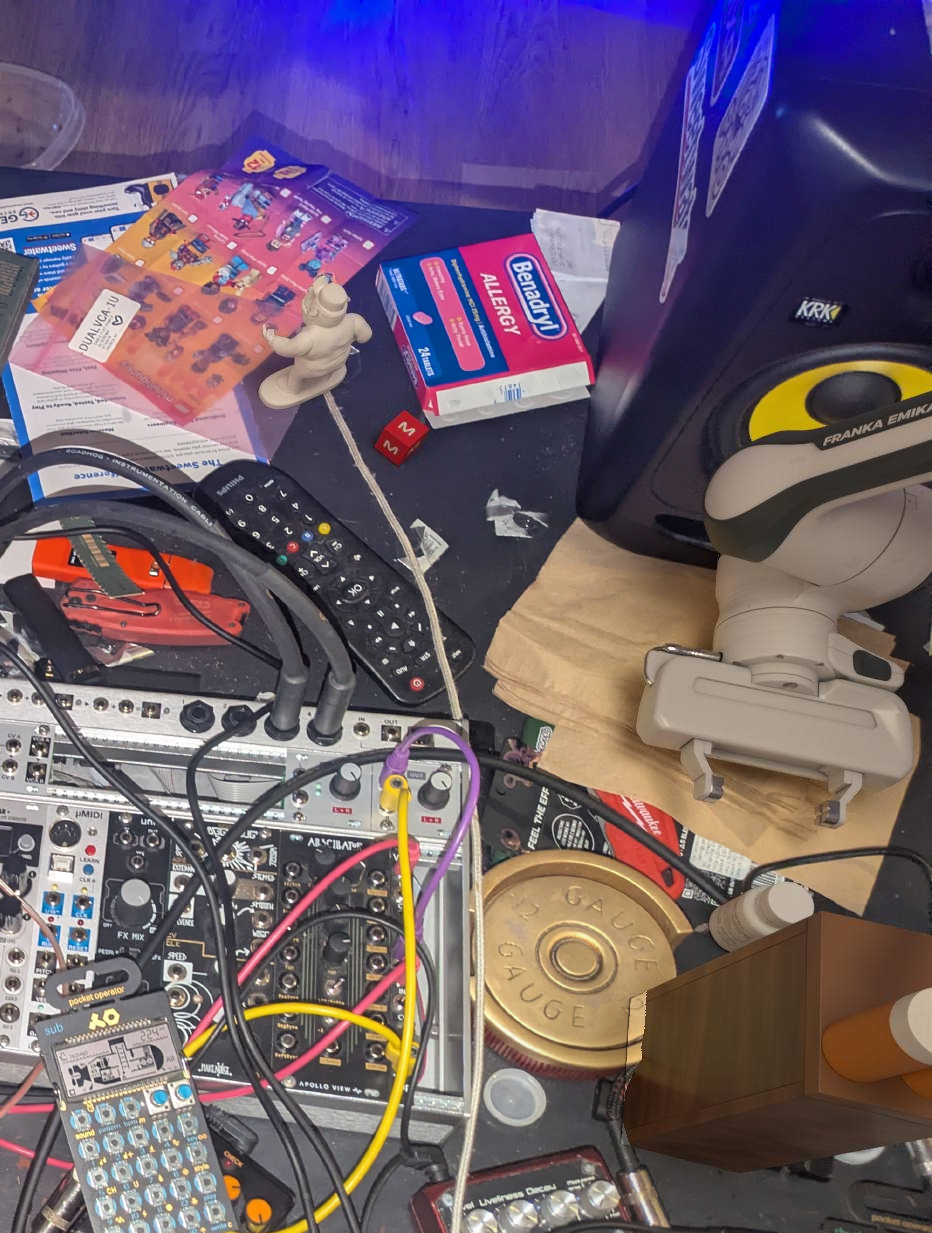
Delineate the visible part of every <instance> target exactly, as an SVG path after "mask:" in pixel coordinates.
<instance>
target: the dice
mask: <svg viewBox="0 0 932 1233" xmlns="http://www.w3.org/2000/svg"><path fill="white" fill-rule="evenodd" d="M429 431H430V428H429V427H428V426H427V425H425V424H424V423H422V422H421V421H420V420H419V419H417V417H415V416H414V415H412V414H411V413H409V412H408V411H406V410H405V409H404V410H403V411H402V412H400V414H399V415H397V416H396V417H395V418H394V419H393V420H392V421H390V422H389V423H388V424H387V425H386V426H385V427H384V428H383V429H382V431H381V433H380V435H379V437H378V438H377V441H376V443H375V444H374V446H373V447H374V449H375V450H376V451H378V452H379V453H380V454H382V455H383V456H384V457H385V458H387V459H388V460H390V461H391V462H392V463H393V464H395V465H396V466H397V467H400V465H402V464H403V463H404V462H405V461H406V460H407V459H408V458H410V457H411V456H412V455H413V454H415V452H416V451H418V450H419V448H420V447H421V445H422V443H423V441H424V440H425V438H426V436H427V435H428V433H429Z"/></svg>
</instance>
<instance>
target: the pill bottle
mask: <svg viewBox="0 0 932 1233" xmlns="http://www.w3.org/2000/svg"><path fill="white" fill-rule="evenodd" d="M814 912H815V903H814V899H813V896H812V895H811V894H810V893H809V891H808V890H807V889H806V888H804V887H803V886H801V885H800V884H798V883H796V882H792V881H779V882H777V883H774V884H772V885H759V886H755V887H752V888H749V890H746V891H744V892H743V893H741V894H739V895H737V896H735V897H733V898H731V899H730V900H728V901H725V902H724V903H722V904H721V905H719V906H717V907H716V908H715V909H713V911H712V912H711V914H710V916H709V920H708V927H709V931H710V934H711V937H712V938H713V940H714V941H715V942H716V943H717V945H718V946H720V947H721V948H722V949H724V950H726V951H728V952H729V953H730V952H732V951H734V950H736V949H739V948H741V947H743V946H745V945H747V944H750V943H752V942H754V941H756V940H758V939H761V938H763V937H765V936H767V935H769V934H771V933H774V932H776V931H778V930H780V929H782V928H785V927H787V926H789V925H791V924H793V923H795V922H798V921H800V920H802V919H804V918H806V917H809V916H811V915H813V914H814Z"/></svg>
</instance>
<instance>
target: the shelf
mask: <svg viewBox="0 0 932 1233" xmlns="http://www.w3.org/2000/svg"><path fill="white" fill-rule="evenodd" d="M927 988H932V934H929V933H925V932H921V931H915V930H911V929H906V928H903V927H898V926H895V925H889V924H884V923H879V922H875V921H870V920H865V919H863V918H862V919H861V918H857V917H854V916H853V917H852V916H848V915H843V914H839V913H835V912H834V913H833V912H830V911H825V910H820V911H818V912H815V913H813V914H812V915H811V916H809V917H808V929H807V982H806V1036H805V1089H804V1096H806V1097H810V1098H814V1099H818V1100H822V1101H826V1102H831V1103H835V1104H839V1105H843V1106H848V1107H852V1108H856V1109H860V1110H864V1111H869V1112H873V1113H877V1114H881V1115H886V1116H890V1117H894V1118H898V1119H902V1120H907V1121H911V1122H915V1123H919V1124H923V1125H928V1126H932V1100H931V1099H928V1098H925V1097H923V1096H921V1095H919V1094H918V1093H916V1092H915V1091H913V1090H912V1089H911V1088H910V1087H909V1086H908V1085H907V1084H906V1082H905V1081H904V1080H903V1078H902V1076H901V1075H898V1076H894V1077H890V1078H886V1079H882V1080H878V1081H874V1082H870V1083H860V1082H855V1081H852V1080H849V1079H847V1078H845V1077H843V1076H842V1075H840V1074H839V1073H837V1072H836V1071H835V1070H834V1069H833V1068H832V1067H831V1065H830V1064H829V1063H828V1061H827V1060H826V1058H825V1055H824V1053H823V1049H822V1038H823V1034H824V1032H825V1030H826V1029H827V1027H828V1026H829V1025H830V1024H831V1023H833V1022H835V1021H837V1020H839V1019H842V1018H845V1017H848V1016H851V1015H854V1014H858V1013H861V1012H864V1011H867V1010H870V1009H873V1008H876V1007H879V1006H882V1005H885V1004H888V1003H891V1002H894V1001H897V1000H899V999H901V998H902V997H904V996H906V995H909V994H912V993H915V992H918V991H921V990H924V989H927Z"/></svg>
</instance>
